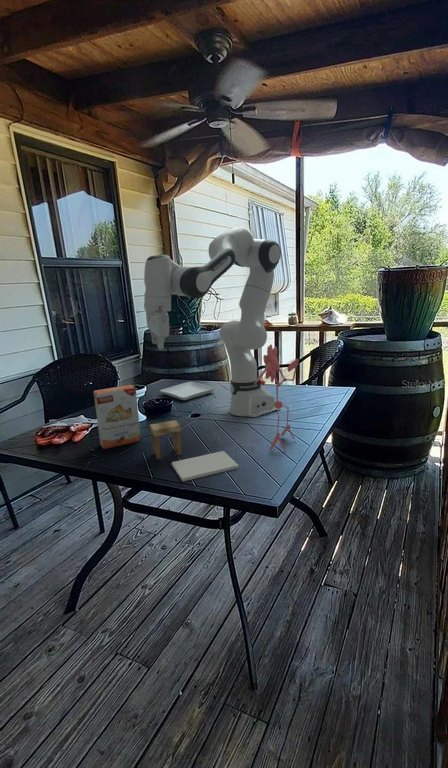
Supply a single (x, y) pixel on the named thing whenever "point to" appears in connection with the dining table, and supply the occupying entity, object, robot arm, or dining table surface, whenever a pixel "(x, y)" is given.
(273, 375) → the pink stick figure
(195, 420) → the dining table surface
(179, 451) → the oak stool
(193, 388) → the salad plate
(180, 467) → the white board
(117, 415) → the cracker box
